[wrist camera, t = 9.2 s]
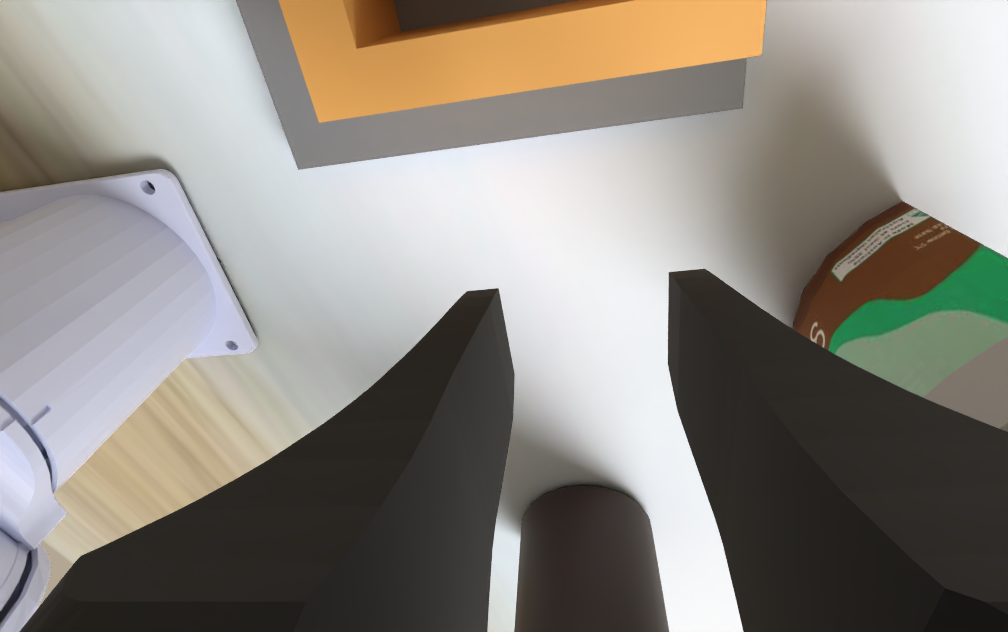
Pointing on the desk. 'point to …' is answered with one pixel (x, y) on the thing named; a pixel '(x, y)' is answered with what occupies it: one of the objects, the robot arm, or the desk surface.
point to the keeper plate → (476, 119)
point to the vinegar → (588, 565)
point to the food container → (916, 311)
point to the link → (504, 48)
